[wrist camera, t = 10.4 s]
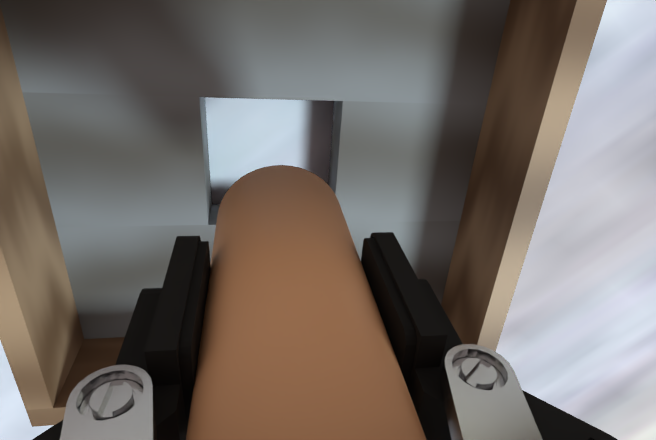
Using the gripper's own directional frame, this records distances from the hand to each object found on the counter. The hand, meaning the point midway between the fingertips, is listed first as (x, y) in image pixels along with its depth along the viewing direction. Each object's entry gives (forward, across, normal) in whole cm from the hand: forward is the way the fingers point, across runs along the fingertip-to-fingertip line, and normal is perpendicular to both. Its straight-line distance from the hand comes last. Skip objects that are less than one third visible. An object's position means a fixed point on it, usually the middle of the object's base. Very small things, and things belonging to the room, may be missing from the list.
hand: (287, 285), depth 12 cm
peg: (+3, 0, 0) cm, 3 cm away
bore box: (+10, 0, 0) cm, 10 cm away
